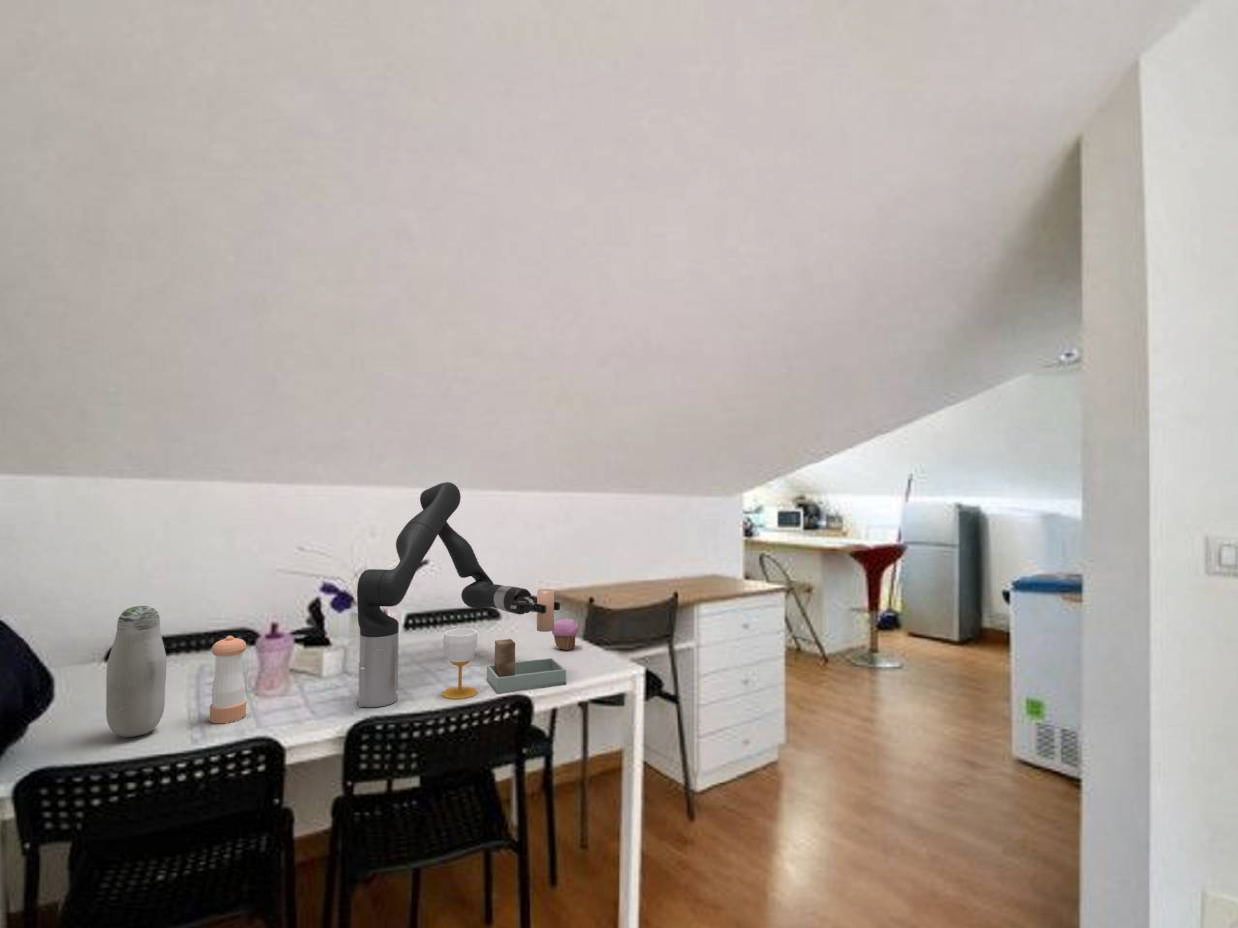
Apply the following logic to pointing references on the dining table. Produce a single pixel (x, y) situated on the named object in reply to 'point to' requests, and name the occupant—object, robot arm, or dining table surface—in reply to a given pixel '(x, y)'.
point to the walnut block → (505, 658)
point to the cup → (460, 658)
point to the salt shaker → (228, 681)
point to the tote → (528, 676)
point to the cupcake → (565, 633)
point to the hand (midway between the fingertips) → (552, 607)
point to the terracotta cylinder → (546, 619)
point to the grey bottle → (136, 673)
